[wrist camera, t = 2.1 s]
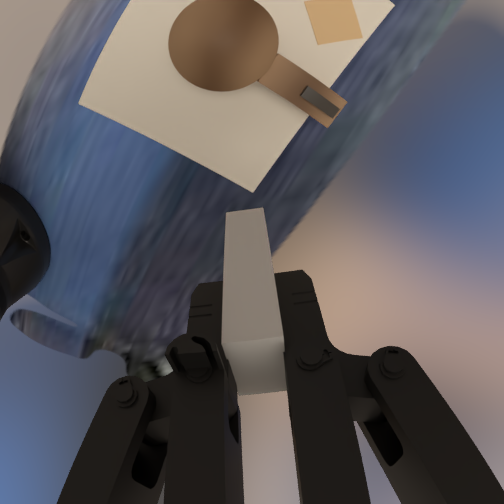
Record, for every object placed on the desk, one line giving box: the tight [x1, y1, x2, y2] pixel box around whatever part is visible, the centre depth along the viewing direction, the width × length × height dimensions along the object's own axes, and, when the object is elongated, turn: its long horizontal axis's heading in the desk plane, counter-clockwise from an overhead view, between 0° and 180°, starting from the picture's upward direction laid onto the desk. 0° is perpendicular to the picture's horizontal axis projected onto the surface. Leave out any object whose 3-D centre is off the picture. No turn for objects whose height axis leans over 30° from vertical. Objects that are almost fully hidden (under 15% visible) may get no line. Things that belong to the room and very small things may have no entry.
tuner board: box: [78, 0, 395, 193], centre depth 21 cm, size 18×22×1 cm
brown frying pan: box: [168, 0, 347, 128], centre depth 20 cm, size 13×7×5 cm, turn 57°
